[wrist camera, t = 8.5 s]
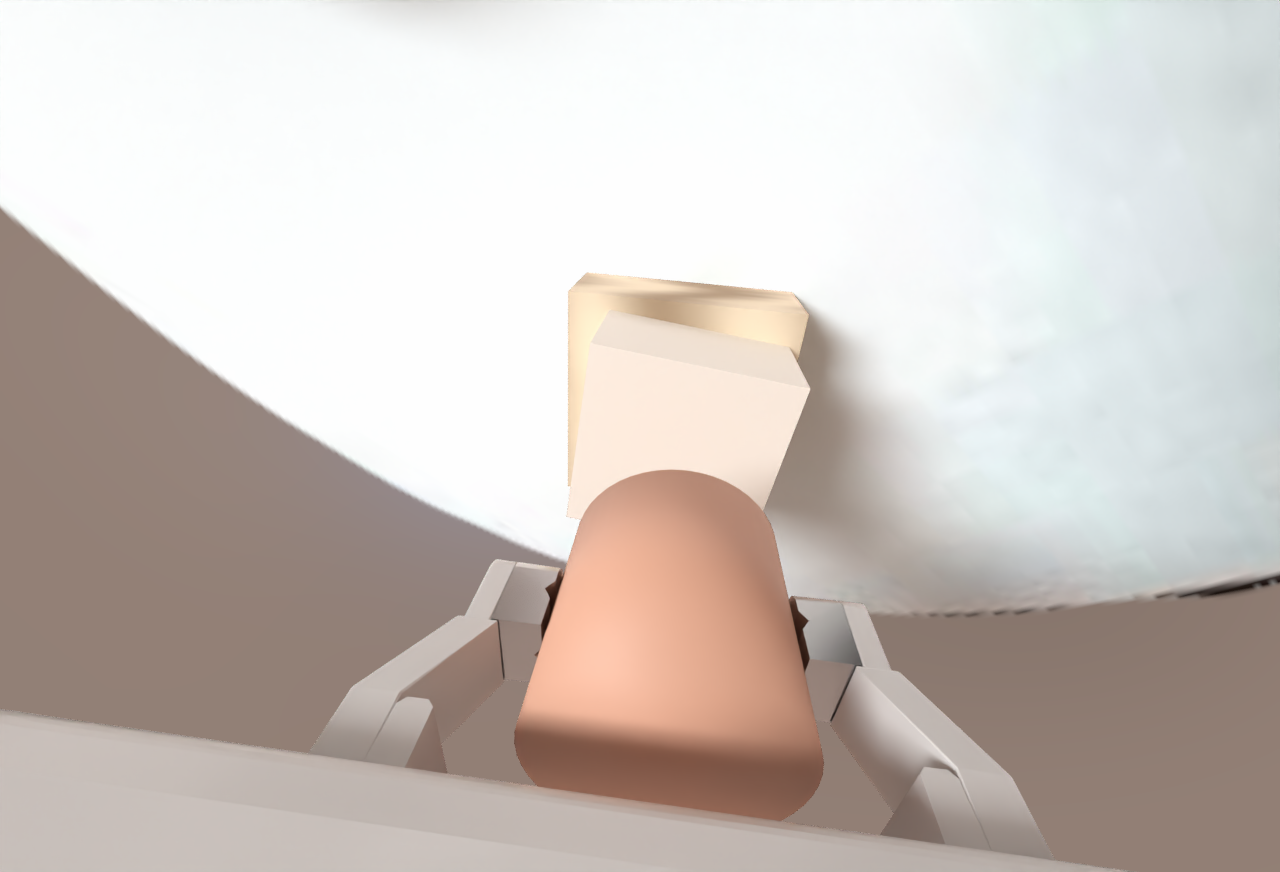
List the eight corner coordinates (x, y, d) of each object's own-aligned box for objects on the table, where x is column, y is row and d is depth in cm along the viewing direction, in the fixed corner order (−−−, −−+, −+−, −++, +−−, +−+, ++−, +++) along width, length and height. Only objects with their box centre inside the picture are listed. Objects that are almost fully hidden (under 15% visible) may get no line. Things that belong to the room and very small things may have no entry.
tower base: (790, 290, 22) (809, 315, 18) (752, 463, 26) (761, 509, 23) (588, 270, 22) (568, 291, 19) (584, 443, 26) (568, 486, 23)
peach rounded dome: (796, 482, 11) (864, 689, 7) (755, 632, 14) (785, 855, 9) (577, 458, 11) (504, 642, 7) (575, 609, 14) (521, 818, 9)
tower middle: (789, 347, 19) (810, 389, 15) (738, 492, 22) (746, 554, 19) (609, 309, 19) (590, 342, 15) (586, 461, 22) (566, 516, 19)
